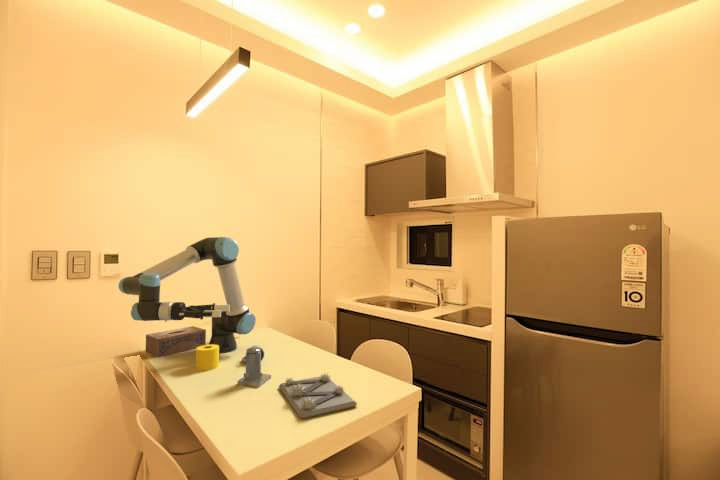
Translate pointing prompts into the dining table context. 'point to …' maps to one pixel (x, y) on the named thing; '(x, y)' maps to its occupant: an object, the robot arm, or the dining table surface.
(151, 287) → the robot arm
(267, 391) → the dining table surface
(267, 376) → the square metal stand
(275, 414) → the dining table surface
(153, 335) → the tissue box cover
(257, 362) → the trash can
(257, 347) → the ceramic mug
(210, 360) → the tape roll
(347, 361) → the dining table surface
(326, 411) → the decorative plate
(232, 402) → the dining table surface
